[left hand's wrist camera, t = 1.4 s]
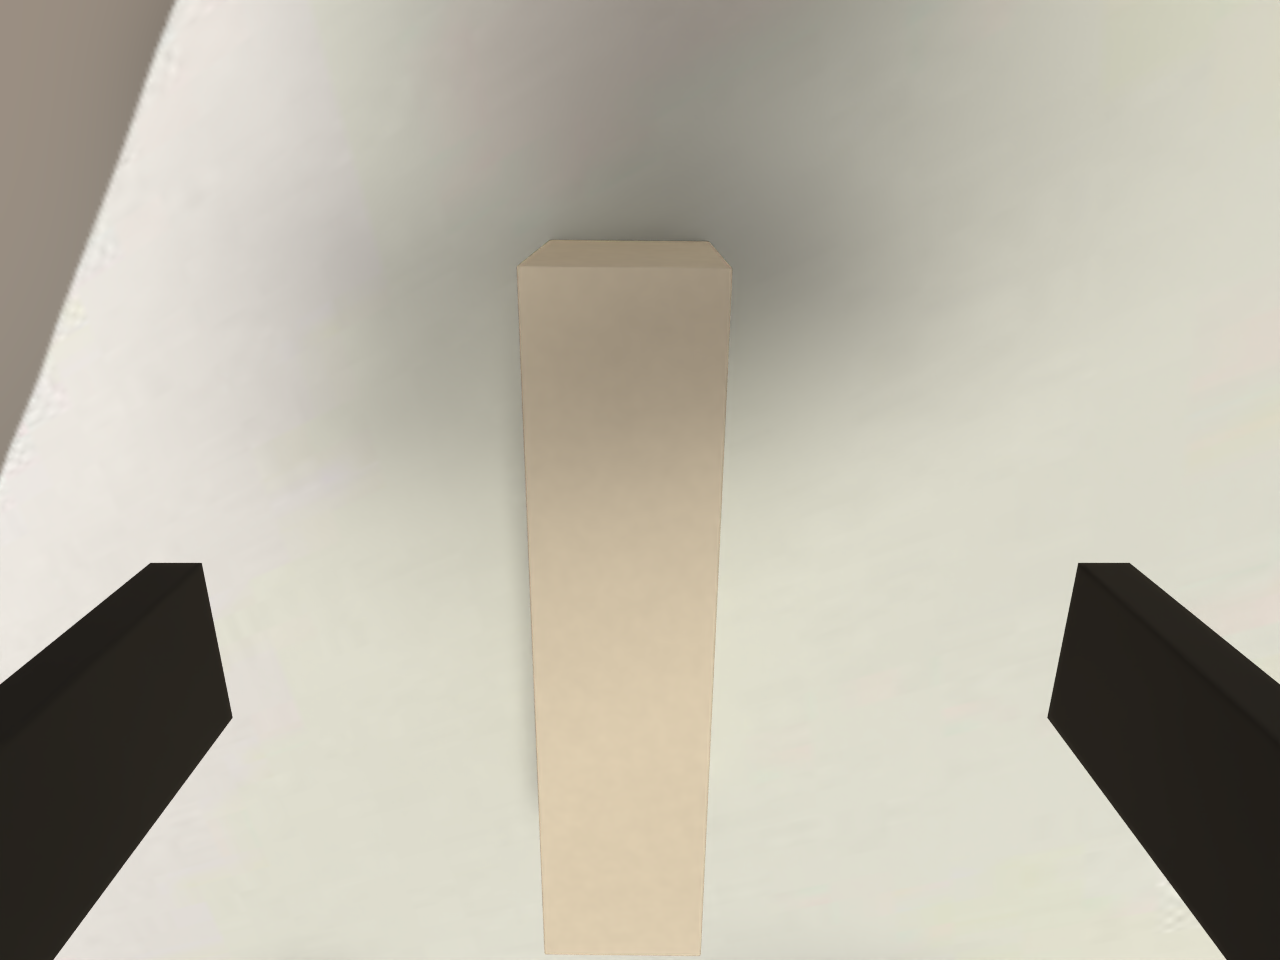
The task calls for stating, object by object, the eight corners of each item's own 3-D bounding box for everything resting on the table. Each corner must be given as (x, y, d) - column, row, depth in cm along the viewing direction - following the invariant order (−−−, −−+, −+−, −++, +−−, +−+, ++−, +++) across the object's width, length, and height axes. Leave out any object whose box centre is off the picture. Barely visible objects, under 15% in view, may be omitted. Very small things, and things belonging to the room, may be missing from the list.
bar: (549, 239, 31) (516, 265, 23) (709, 241, 31) (732, 267, 23) (564, 795, 40) (544, 954, 32) (689, 797, 40) (700, 956, 32)
